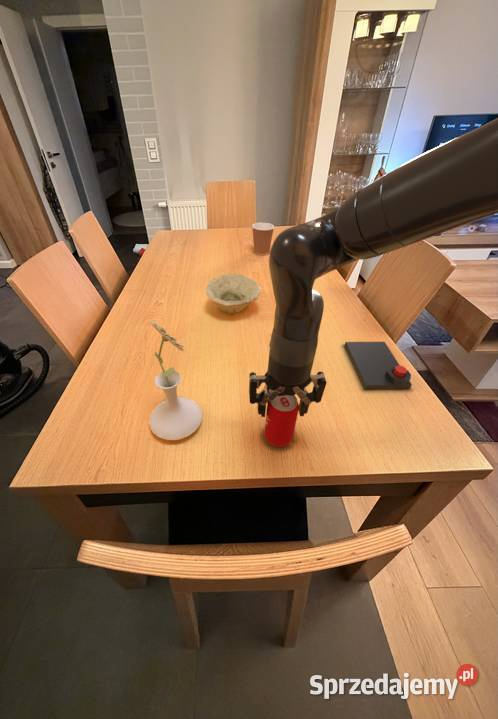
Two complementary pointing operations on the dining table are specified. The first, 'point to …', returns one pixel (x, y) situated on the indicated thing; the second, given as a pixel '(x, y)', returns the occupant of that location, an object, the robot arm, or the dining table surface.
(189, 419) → the flower in vase
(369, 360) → the grey plate red button
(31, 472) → the dining table surface
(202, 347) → the dining table surface
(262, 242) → the coffee cup
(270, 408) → the beverage can
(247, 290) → the bowl
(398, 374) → the button
